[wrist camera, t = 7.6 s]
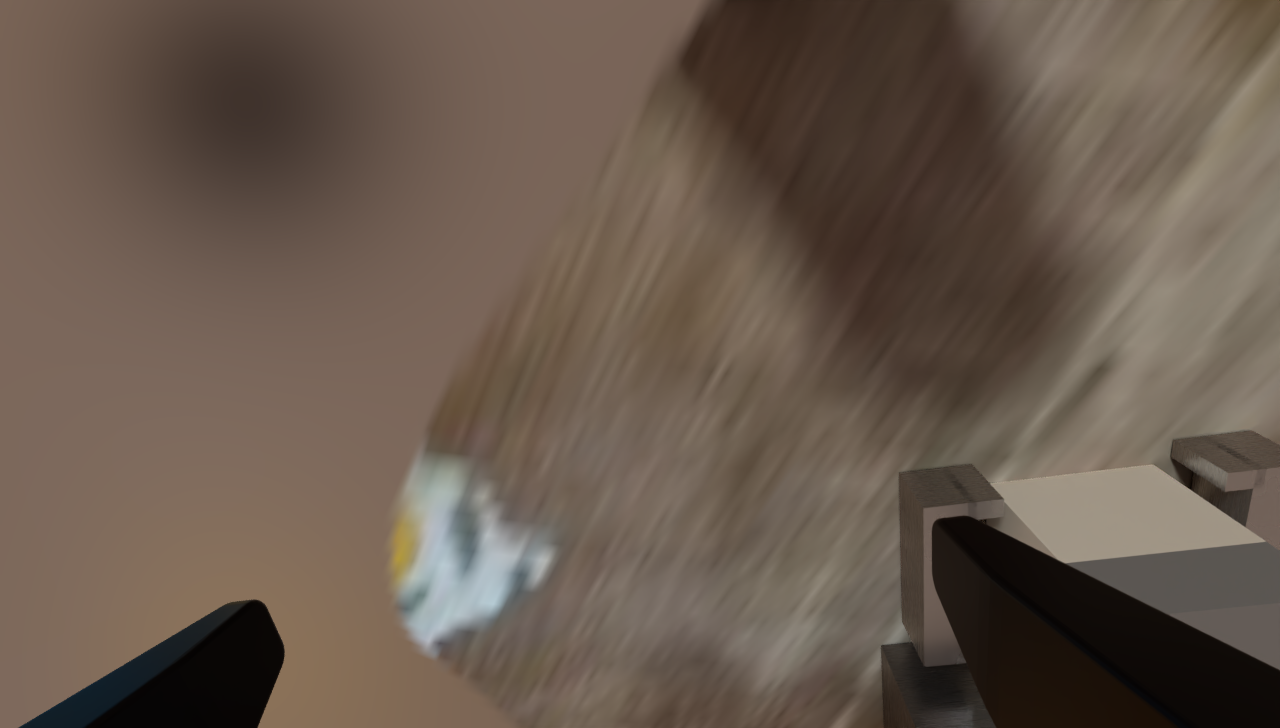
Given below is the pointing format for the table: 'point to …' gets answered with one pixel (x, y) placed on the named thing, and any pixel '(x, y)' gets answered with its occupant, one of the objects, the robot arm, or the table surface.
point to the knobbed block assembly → (933, 663)
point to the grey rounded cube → (1155, 549)
